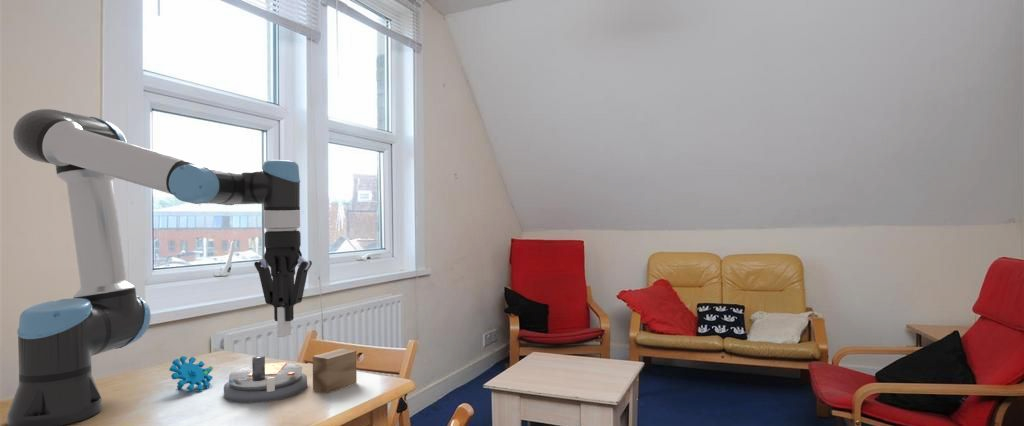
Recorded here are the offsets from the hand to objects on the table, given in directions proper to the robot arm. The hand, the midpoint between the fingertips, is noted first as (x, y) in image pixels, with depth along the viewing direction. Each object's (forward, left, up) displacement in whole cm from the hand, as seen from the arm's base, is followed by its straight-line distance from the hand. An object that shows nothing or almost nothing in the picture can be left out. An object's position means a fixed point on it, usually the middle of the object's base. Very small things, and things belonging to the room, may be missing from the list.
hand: (284, 335), depth 126 cm
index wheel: (-10, +3, -12) cm, 16 cm away
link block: (+2, +13, -15) cm, 19 cm away
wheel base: (-10, +3, -14) cm, 18 cm away
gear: (-26, -5, -15) cm, 31 cm away
